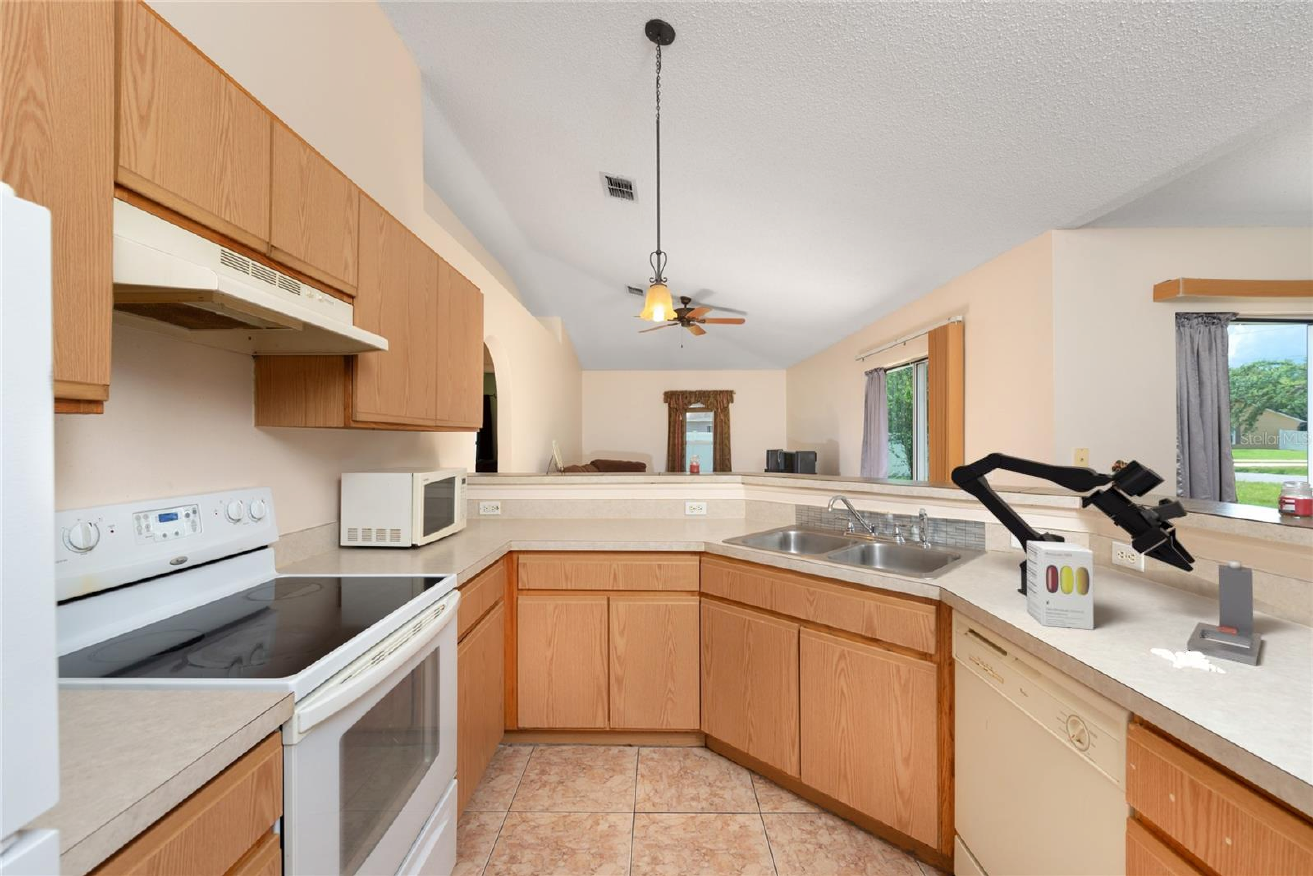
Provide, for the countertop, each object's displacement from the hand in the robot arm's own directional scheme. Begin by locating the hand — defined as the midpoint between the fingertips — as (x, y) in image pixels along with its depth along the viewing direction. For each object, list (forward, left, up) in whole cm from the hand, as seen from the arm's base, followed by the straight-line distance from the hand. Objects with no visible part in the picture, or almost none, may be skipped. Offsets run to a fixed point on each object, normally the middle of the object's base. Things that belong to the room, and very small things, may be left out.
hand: (1192, 566), depth 109 cm
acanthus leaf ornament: (-18, -20, -13) cm, 30 cm away
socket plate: (-4, -12, -12) cm, 18 cm away
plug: (+5, -4, -12) cm, 14 cm away
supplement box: (-26, 0, -12) cm, 29 cm away
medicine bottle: (-6, +36, -12) cm, 39 cm away
